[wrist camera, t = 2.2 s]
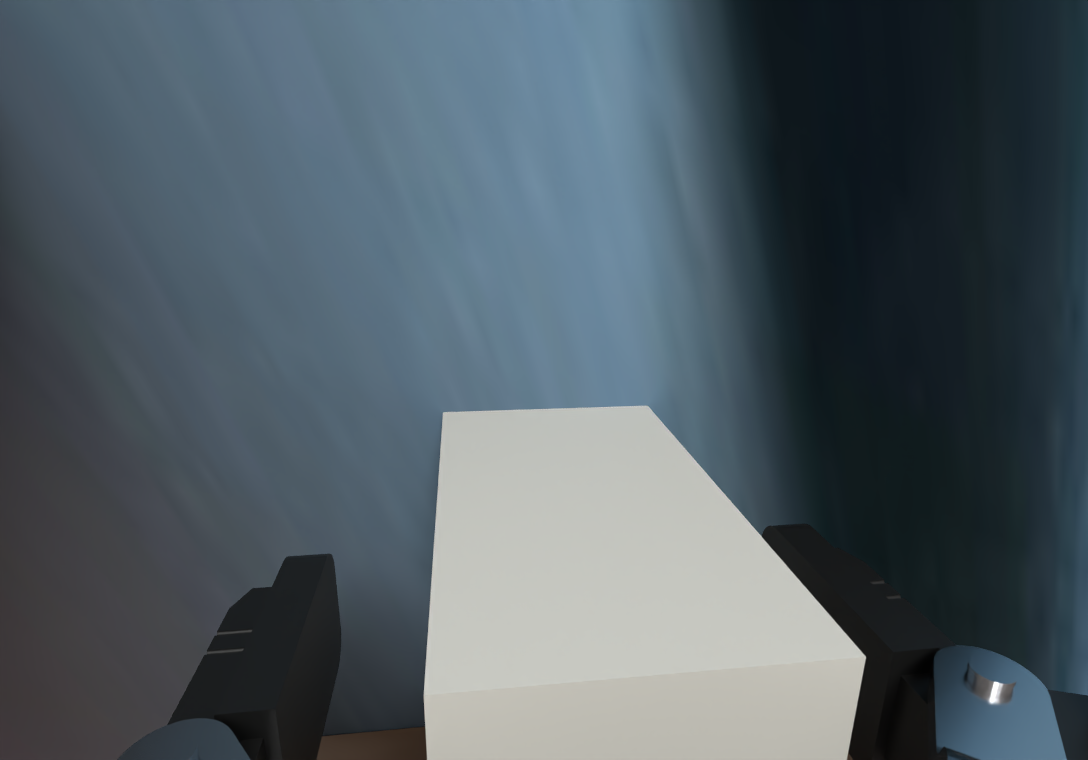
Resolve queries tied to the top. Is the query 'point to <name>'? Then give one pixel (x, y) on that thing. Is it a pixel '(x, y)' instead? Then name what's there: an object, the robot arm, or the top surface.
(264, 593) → the robot arm
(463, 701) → the peg
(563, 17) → the top surface
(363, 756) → the socket base
